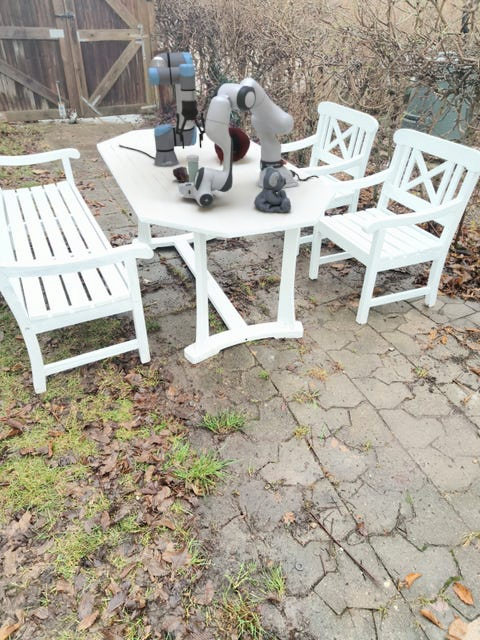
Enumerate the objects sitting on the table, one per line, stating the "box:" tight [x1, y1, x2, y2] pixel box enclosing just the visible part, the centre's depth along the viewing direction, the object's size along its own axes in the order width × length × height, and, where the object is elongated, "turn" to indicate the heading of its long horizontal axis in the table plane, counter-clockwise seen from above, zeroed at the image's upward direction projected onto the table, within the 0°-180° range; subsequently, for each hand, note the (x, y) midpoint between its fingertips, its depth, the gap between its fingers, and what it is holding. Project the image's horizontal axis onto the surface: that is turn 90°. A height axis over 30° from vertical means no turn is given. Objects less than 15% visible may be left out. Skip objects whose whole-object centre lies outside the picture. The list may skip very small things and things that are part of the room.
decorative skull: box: [213, 126, 251, 166], centre depth 295 cm, size 21×24×25 cm
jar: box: [187, 161, 200, 183], centre depth 243 cm, size 6×6×19 cm
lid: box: [186, 154, 200, 163], centre depth 238 cm, size 6×6×2 cm
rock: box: [172, 166, 189, 183], centre depth 261 cm, size 12×9×10 cm
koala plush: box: [253, 166, 292, 213], centre depth 221 cm, size 17×18×20 cm
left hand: (192, 147), depth 235 cm, fingers open, 8 cm apart
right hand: (195, 182), depth 243 cm, fingers open, 8 cm apart
